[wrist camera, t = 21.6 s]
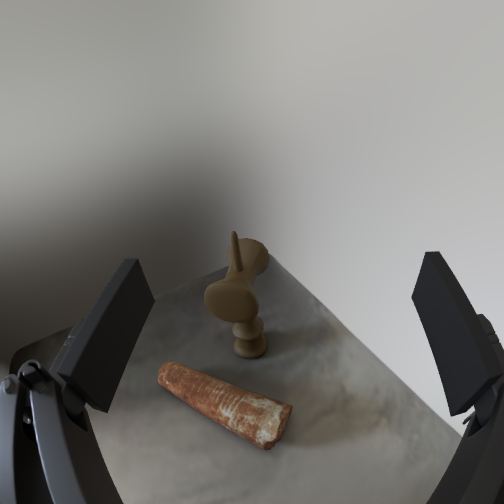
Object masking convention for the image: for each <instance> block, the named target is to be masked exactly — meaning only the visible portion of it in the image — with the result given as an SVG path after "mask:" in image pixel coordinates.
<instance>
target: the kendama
mask: <svg viewBox="0 0 504 504" xmlns="http://www.w3.org/2000/svg"><path fill="white" fill-rule="evenodd" d="M227 259H228V263H229V270H228V272H227V275H226V277H225V279H223V280H220V281H217V282H215V283H213V284H210V285H209V286H208V287H207V289H206V291H205V293H204V302H205V304H206V306H207V308H208V310H209V311H210V312H211V313H212V314H213V315H214V316H216V317H218V318H220V319H222V320H224V321H228V322H233V323H234V325H233V330H232V331H233V334H234V336H235V337H236V339H235V341H234V350H235V352H236V354H238V355H239V356H240V357H244V358H257V357H259V356H261V355H262V354H263V353H264V352H265V351H266V348H267V338H266V336H265V335H264V334H263V333H262V331H263V325H264V324H263V322H262V319H261V318H259V317H258V316H256V315H257V314H258V308H259V304H258V301H257V298H256V295H255V293H254V291H253V283H254V280H255V278H256V276H258V275H259V274H261V273H263V272H264V271H265V270H266V268H267V267H268V265H269V259H270V258H269V254H268V250H267V249H266V248H265V246H264V245H263V244H262V243H260V242H258V241H256V240H253V239H248V238H245V239H238V237H237V234H236V232H235V231H233V232H232V233H231V244H230V246H229V248H228V251H227Z"/></svg>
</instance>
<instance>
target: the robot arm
mask: <svg viewBox="0 0 504 504" xmlns="http://www.w3.org/2000/svg"><path fill="white" fill-rule="evenodd" d="M412 300H413V302H414V305H415V307H416V310H417V312H418V315H419V317H420V320H421V322H422V325H423V328H424V330H425V333H426V336H427V338H428V341H429V344H430V347H431V350H432V353H433V356H434V358H435V362H436V365H437V368H438V371H439V374H440V378H441V381H442V384H443V388H444V392H445V395H446V399H447V403H448V407H449V411H450V415H451V416H455V415H458V414H461V413H465V412H467V410H468V409H470V408H471V407H472V406H473V405H474V408H475V411H474V412H473V413H472V414H471V415H470V416H469V417H467V418H466V419H465V420H464V422H463V424H466V423H467V422H468V421H469V420H470V421H469V423H468V425H467V428H466V430H465V433H464V435H463V437H462V440H461V442H460V444H459V446H458V448H457V450H456V452H455V455H454V457H453V459H452V460H451V462H450V464H449V466H448V468H447V470H446V472H445V474H444V475H443V477H442V479H441V481H440V482H439V484H438V486H437V487H436V489H435V491H434V492H433V494H432V496H431V497H430V499H429V500H428V502H427V503H426V504H504V349H503V347H502V345H501V343H499V339H498V337H497V335H496V334H495V331H494V329H493V327H492V325H491V323H490V321H489V320H488V319H487V318H486V317H485V316H484V315H483V314H478V315H477V314H476V312H475V310H474V308H473V307H472V305H471V303H470V301H469V299H468V298H467V296H466V294H465V292H464V291H463V289H462V287H461V286H460V284H459V282H458V280H457V279H456V277H455V275H454V274H453V272H452V271H451V269H450V268H449V266H448V264H447V263H446V261H445V260H444V258H443V257H442V255H441V254H440V252H438V251H437V252H425V256H424V259H423V263H422V266H421V269H420V273H419V276H418V279H417V282H416V285H415V288H414V291H413V294H412ZM154 302H155V300H154V298H153V295H152V293H151V291H150V288H149V286H148V283H147V281H146V278H145V276H144V274H143V271H142V268H141V265H140V263H139V260H138V259H124V261H123V262H122V263H121V265H120V266H119V268H118V269H117V271H116V272H115V274H114V275H113V277H112V278H111V280H110V281H109V283H108V284H107V286H106V287H105V289H104V290H103V292H102V293H101V295H100V297H99V298H98V300H97V301H96V303H95V304H94V306H93V308H92V309H91V311H90V312H89V314H88V316H87V317H86V319H81V320H80V321H79V322H78V323H77V324H76V325H75V326H74V327H73V329H72V331H71V332H70V334H69V337H68V338H67V339H66V341H65V343H64V345H63V346H62V348H61V350H60V351H59V353H58V355H57V357H56V359H55V360H54V362H53V364H52V366H51V368H50V370H49V371H47V370H46V369H45V368H44V367H43V366H42V365H41V364H40V363H39V362H38V361H37V360H33V359H32V360H29V361H27V362H26V363H24V364H23V365H22V367H21V368H20V370H19V372H18V377H17V376H16V375H15V374H10V375H8V376H7V377H5V378H4V380H3V381H2V383H1V386H0V504H123V502H122V500H121V498H120V496H119V494H118V492H117V489H116V487H115V485H114V483H113V481H112V478H111V476H110V474H109V472H108V469H107V467H106V464H105V462H104V459H103V457H102V454H101V451H100V449H99V446H98V443H97V440H96V437H95V435H94V432H93V428H92V425H91V422H90V419H89V416H88V412H87V410H86V408H85V407H84V406H85V403H86V402H87V403H88V404H89V405H90V406H91V407H92V408H93V409H96V410H99V411H102V412H106V413H108V410H109V408H110V405H111V402H112V400H113V397H114V395H115V392H116V390H117V387H118V385H119V382H120V380H121V377H122V375H123V372H124V370H125V367H126V365H127V362H128V360H129V358H130V355H131V353H132V351H133V348H134V346H135V344H136V341H137V339H138V337H139V335H140V332H141V330H142V328H143V326H144V324H145V321H146V319H147V317H148V315H149V313H150V310H151V308H152V306H153V304H154ZM23 415H24V416H25V417H27V418H28V423H25V422H24V421H23Z"/></svg>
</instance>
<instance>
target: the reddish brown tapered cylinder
mask: <svg viewBox="0 0 504 504" xmlns="http://www.w3.org/2000/svg"><path fill="white" fill-rule="evenodd" d="M158 376H159V377H158V382H159V384H160V385H161V386H163V387H164V388H166V389H167V390H169V391H170V392H172V393H173V394H174V395H176V396H177V397H178V398H180V399H181V400H183V401H184V402H186V403H187V404H188V405H190V406H191V407H193V408H194V409H196V410H197V411H199V412H200V413H202V414H203V415H205V416H207V417H208V418H210V419H212V420H214V421H215V422H217V423H219V424H220V425H222V426H223V427H225V428H227V429H228V430H230V431H231V432H233V433H235V434H237V435H238V436H240V437H242V438H244V439H246V440H247V441H249V442H251V443H253V444H255V445H257V446H259V447H261V448H263V449H265V450H270V449H271V448H272V447H274V445H275V442H278V441H279V439H280V438H281V436H282V434H283V432H284V429H285V426H286V423H287V419H288V417H289V415H290V413H291V411H292V407H293V406H290V405H288V404H285V403H283V402H280V401H277V400H274V399H271V398H268V397H265V396H262V395H259V394H257V393H253V392H249V391H246V390H244V389H241V388H238V387H236V386H234V385H232V384H228V383H226V382H224V381H221V380H219V379H216V378H214V377H211V376H209V375H206V374H203V373H201V372H198V371H196V370H193V369H191V368H189V367H186V366H184V365H181V364H178V363H176V362H174V361H170V362H167V363H165V364H163V365H162V367H161V368H160V370H159V374H158Z"/></svg>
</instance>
